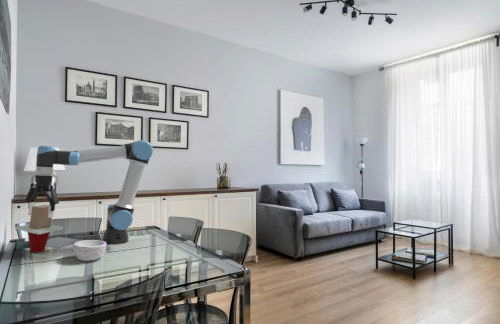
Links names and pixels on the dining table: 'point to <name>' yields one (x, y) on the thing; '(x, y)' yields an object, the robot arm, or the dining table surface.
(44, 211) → the lid
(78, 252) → the paper bowls
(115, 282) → the dining table surface
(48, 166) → the robot arm
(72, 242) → the mat
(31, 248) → the plastic cup
